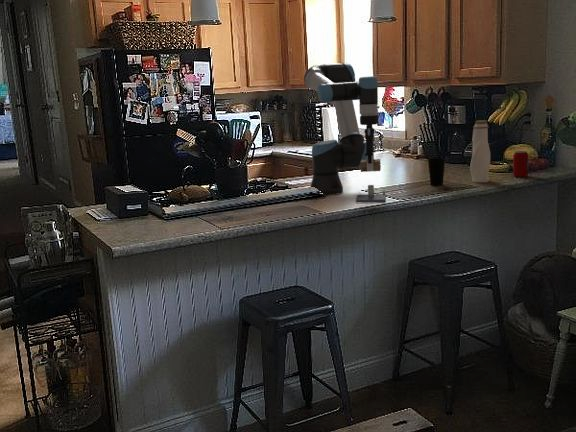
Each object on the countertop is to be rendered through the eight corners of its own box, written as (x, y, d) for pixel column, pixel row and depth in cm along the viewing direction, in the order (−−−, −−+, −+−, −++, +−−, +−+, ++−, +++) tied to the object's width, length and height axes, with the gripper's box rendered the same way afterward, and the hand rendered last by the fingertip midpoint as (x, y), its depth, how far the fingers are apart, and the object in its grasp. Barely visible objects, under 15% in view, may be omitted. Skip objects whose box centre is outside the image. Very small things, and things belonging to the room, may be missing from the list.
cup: (445, 186, 291) (445, 159, 288) (428, 186, 293) (428, 160, 290) (444, 183, 298) (444, 157, 296) (428, 183, 300) (428, 158, 297)
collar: (360, 171, 264) (360, 162, 263) (361, 169, 271) (361, 159, 270) (380, 171, 262) (379, 161, 261) (380, 168, 270) (380, 159, 269)
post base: (356, 202, 265) (355, 188, 264) (357, 197, 277) (357, 183, 275) (385, 202, 263) (385, 187, 262) (385, 196, 274) (385, 182, 273)
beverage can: (531, 176, 302) (531, 151, 300) (519, 178, 300) (520, 152, 297) (521, 174, 308) (521, 150, 306) (509, 176, 306) (510, 151, 303)
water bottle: (464, 180, 302) (465, 121, 296) (480, 178, 305) (481, 119, 299) (478, 183, 293) (478, 122, 287) (494, 181, 296) (495, 120, 290)
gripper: (377, 116, 251) (379, 173, 256) (378, 112, 271) (380, 165, 276) (358, 116, 252) (360, 173, 257) (361, 113, 273) (362, 166, 277)
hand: (370, 169), depth 267 cm, fingers closed on collar, 8 cm apart
